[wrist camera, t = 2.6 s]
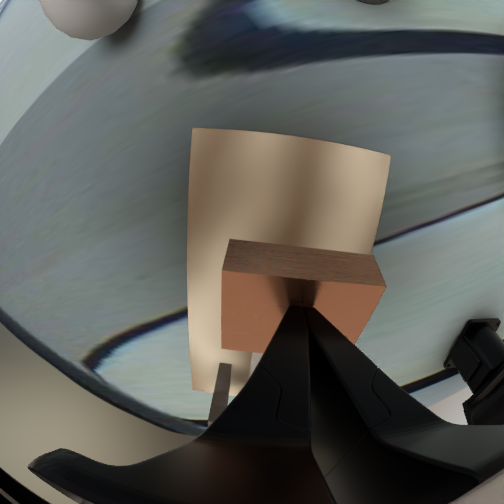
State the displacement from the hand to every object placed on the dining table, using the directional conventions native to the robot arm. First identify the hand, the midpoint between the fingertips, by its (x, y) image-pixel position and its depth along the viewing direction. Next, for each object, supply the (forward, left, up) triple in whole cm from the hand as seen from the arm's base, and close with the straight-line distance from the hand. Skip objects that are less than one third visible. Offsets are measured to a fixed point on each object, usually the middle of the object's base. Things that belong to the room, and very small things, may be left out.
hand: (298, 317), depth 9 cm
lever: (0, +6, -4) cm, 7 cm away
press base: (0, +5, -10) cm, 12 cm away
